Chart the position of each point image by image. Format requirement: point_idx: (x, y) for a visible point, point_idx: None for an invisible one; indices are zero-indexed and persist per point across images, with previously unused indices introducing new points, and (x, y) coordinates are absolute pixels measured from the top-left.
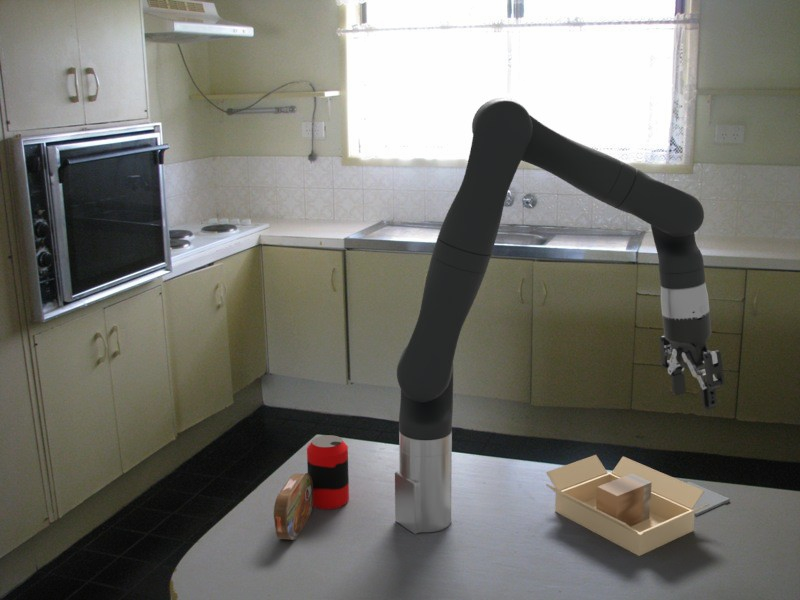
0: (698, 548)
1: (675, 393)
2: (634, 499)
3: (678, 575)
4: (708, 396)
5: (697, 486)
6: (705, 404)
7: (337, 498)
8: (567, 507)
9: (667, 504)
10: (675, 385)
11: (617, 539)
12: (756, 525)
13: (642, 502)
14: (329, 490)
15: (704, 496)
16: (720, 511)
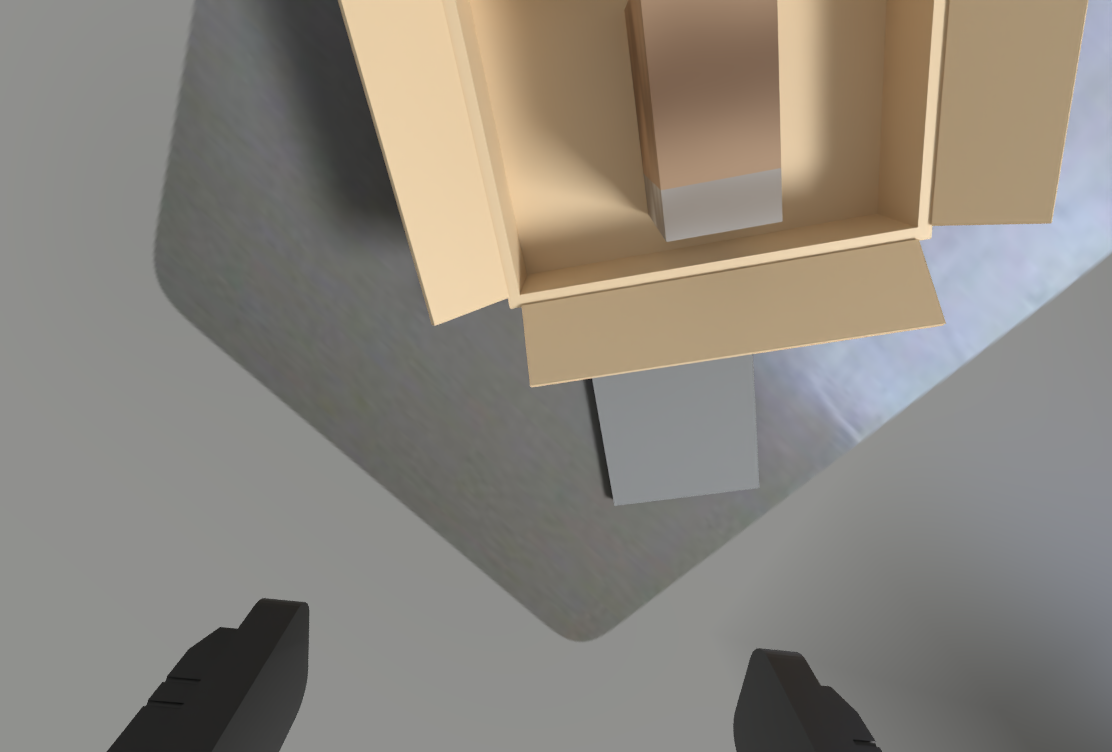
0: None
1: (763, 660)
2: (648, 123)
3: (305, 33)
4: (118, 737)
5: (720, 485)
6: (233, 637)
7: None
8: None
9: (615, 274)
10: (797, 742)
11: None
12: (476, 464)
13: (651, 177)
14: None
15: (661, 459)
16: (582, 441)
